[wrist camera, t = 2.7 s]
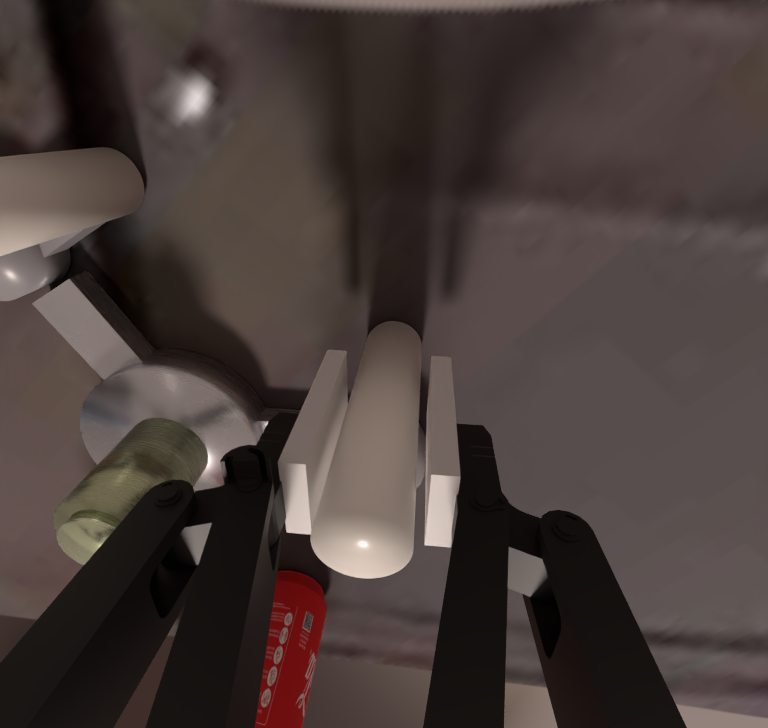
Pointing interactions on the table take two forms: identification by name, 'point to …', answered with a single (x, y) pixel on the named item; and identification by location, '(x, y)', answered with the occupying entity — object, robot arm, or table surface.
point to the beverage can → (291, 650)
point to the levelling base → (142, 414)
